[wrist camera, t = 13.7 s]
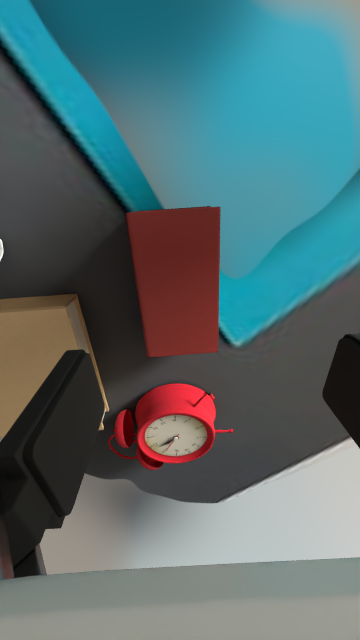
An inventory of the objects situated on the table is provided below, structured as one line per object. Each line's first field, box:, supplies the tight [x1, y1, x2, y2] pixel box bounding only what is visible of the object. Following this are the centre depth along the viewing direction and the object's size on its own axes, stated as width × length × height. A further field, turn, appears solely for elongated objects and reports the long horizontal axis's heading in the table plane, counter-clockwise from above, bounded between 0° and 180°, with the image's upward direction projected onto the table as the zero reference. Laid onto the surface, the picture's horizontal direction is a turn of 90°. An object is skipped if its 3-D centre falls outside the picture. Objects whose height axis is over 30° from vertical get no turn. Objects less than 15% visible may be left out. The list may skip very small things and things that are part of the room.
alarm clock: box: [108, 384, 233, 470], centre depth 29 cm, size 10×6×15 cm
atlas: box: [0, 294, 109, 438], centre depth 25 cm, size 16×12×3 cm
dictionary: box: [125, 206, 220, 357], centre depth 20 cm, size 12×6×4 cm, turn 3°
